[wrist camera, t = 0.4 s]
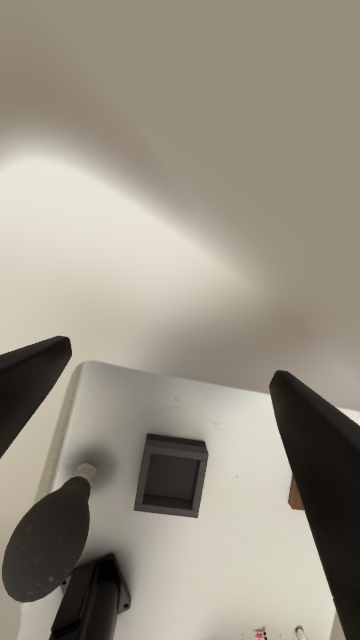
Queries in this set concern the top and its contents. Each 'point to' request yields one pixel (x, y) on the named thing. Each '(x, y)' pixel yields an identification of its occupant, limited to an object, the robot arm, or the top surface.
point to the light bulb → (49, 539)
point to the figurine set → (300, 635)
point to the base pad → (171, 476)
